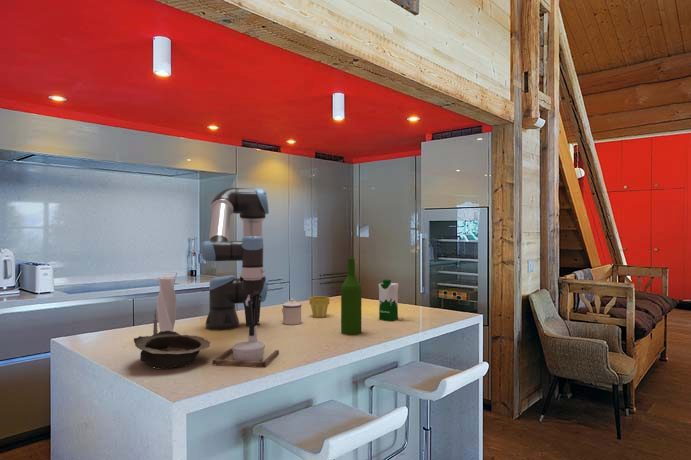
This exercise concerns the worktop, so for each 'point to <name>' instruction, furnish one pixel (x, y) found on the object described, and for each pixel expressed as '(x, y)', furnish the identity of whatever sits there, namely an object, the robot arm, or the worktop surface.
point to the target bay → (264, 363)
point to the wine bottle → (351, 302)
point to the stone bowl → (170, 349)
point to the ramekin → (248, 351)
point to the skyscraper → (166, 304)
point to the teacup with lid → (291, 312)
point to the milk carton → (388, 301)
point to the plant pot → (319, 305)
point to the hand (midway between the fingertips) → (252, 343)
